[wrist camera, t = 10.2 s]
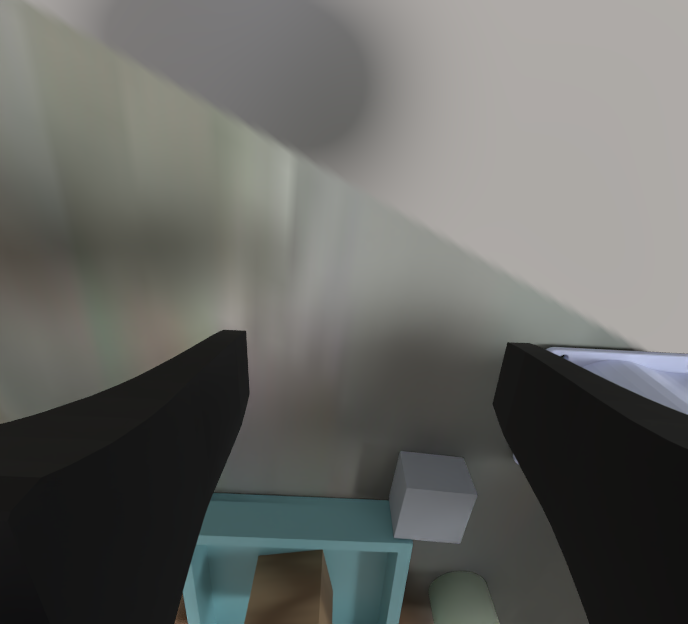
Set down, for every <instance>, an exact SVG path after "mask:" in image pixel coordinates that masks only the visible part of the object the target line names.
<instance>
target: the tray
mask: <svg viewBox="0 0 688 624" xmlns="http://www.w3.org/2000/svg"><path fill="white" fill-rule="evenodd" d="M412 547H413V540H411V539H400V538H394V535H393V527H392V519H391V512H390V504H389V500H369V499H345V498H321V497H298V496H274V495H250V494H227V493H213V495H212V497H211V500H210V503H209V506H208V508H207V511H206V514H205V517H204V520H203V524H202V527H201V530H200V534H199V537H198V540H197V544H196V547H195V550H194V554H193V557H192V561H191V564H190V568H189V571H188V575H187V578H186V582H185V585H184V589H183V596H184V602H185V608H186V614H187V620H188V624H244V622H245V617H246V612H247V608H248V603H249V598H250V593H251V589H252V584H253V579H254V574H255V570H256V565H257V560H258V556H260V555H270V554H280V553H291V552H301V551H311V550H321V549H322V550H323V552H324V556H325V560H326V565H327V569H328V573H329V577H330V581H331V585H332V589H333V612H332V624H399V618H400V613H401V607H402V602H403V596H404V591H405V585H406V580H407V574H408V569H409V563H410V558H411V553H412Z"/></svg>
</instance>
